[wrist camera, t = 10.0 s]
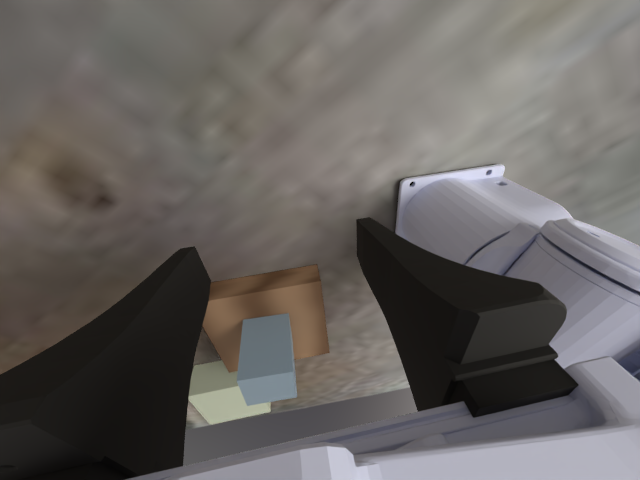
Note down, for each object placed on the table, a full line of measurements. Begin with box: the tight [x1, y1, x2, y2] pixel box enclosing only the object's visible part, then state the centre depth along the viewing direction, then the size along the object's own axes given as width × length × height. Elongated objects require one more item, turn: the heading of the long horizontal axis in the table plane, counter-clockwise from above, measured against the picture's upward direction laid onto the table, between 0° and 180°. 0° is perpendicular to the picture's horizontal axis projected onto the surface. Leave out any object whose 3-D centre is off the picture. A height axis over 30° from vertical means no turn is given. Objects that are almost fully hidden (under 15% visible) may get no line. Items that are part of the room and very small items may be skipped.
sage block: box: [188, 360, 271, 425], centre depth 34 cm, size 8×8×4 cm
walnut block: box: [202, 264, 329, 373], centre depth 28 cm, size 12×12×3 cm
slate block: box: [237, 313, 297, 406], centre depth 24 cm, size 4×4×6 cm
